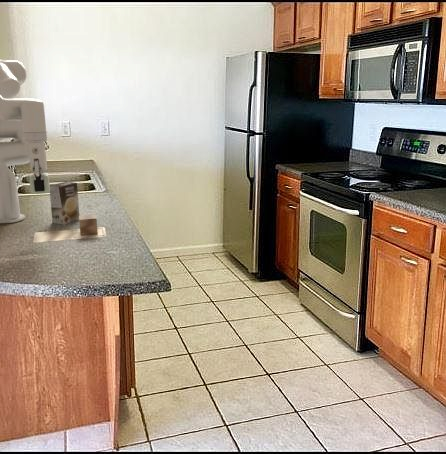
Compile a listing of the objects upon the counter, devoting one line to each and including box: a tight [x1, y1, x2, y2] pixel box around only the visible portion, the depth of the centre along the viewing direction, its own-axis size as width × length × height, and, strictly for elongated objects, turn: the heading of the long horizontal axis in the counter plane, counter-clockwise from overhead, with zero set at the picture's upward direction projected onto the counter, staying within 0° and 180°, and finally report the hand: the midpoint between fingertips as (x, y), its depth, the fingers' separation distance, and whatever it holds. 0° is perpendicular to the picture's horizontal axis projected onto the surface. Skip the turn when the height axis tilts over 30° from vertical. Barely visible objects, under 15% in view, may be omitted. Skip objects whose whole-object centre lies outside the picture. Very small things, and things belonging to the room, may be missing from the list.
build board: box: [32, 226, 107, 244], centre depth 181 cm, size 25×13×1 cm, turn 107°
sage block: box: [28, 172, 51, 195], centre depth 174 cm, size 6×6×6 cm
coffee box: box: [49, 181, 81, 225], centre depth 198 cm, size 9×6×16 cm
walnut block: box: [78, 214, 98, 236], centre depth 182 cm, size 6×6×6 cm
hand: (40, 188), depth 174 cm, fingers closed on sage block, 6 cm apart
